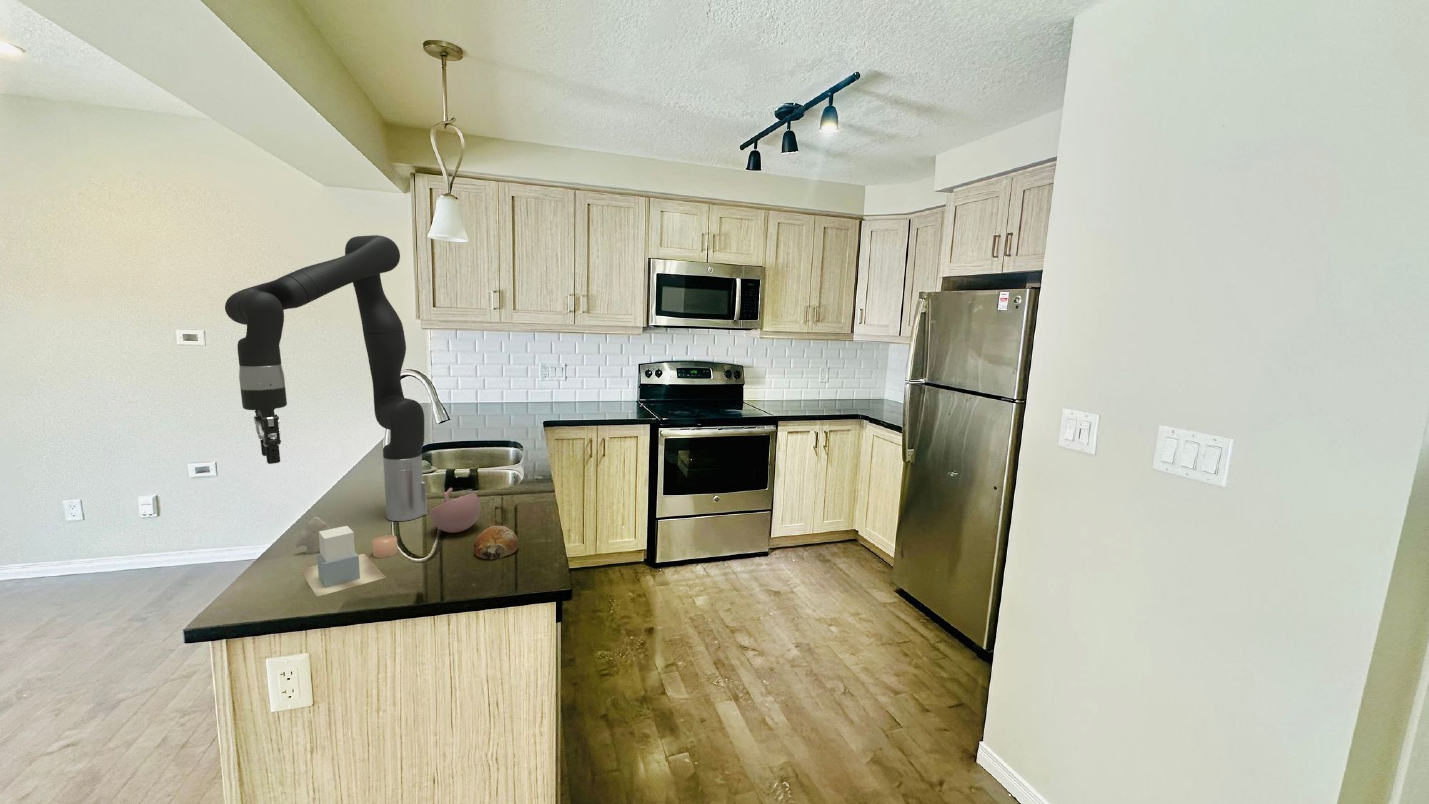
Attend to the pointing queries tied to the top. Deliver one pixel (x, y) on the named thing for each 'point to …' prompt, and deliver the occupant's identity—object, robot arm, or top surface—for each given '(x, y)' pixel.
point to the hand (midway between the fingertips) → (271, 459)
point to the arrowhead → (311, 535)
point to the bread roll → (495, 543)
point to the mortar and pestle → (456, 512)
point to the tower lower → (338, 570)
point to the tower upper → (336, 543)
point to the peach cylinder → (385, 546)
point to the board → (366, 575)
